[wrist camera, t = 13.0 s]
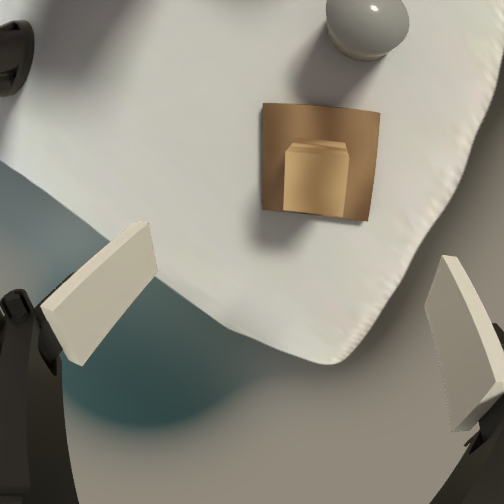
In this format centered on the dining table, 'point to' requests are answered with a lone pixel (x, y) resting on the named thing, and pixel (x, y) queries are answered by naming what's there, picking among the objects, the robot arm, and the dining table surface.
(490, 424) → the robot arm
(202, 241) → the dining table surface
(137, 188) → the dining table surface
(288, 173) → the oak block
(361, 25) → the grey dome cap
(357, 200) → the walnut board
